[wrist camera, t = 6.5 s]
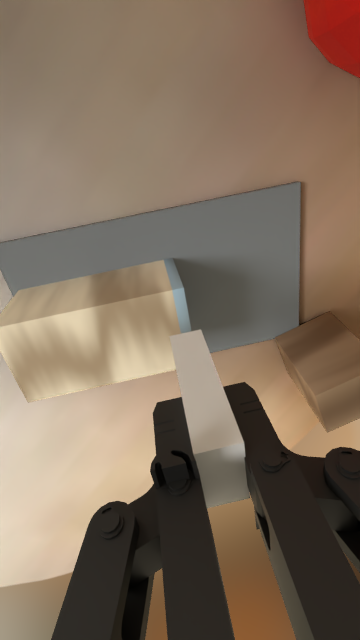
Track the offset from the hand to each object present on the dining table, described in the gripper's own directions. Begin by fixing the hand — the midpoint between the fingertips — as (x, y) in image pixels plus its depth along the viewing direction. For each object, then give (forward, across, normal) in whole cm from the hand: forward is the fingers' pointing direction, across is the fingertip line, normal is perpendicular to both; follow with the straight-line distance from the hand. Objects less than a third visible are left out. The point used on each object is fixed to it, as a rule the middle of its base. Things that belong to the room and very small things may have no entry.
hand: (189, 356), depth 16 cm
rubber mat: (+8, 0, 0) cm, 8 cm away
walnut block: (+8, +10, -7) cm, 14 cm away
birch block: (+5, 0, 0) cm, 5 cm away
